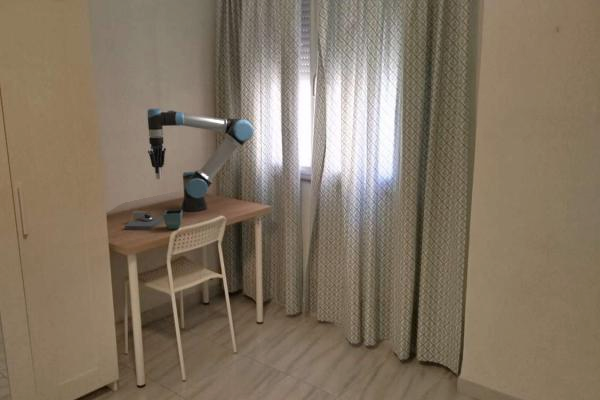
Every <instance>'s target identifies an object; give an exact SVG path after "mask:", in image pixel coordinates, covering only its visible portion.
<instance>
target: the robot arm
mask: <svg viewBox="0 0 600 400" xmlns="http://www.w3.org/2000/svg"><path fill="white" fill-rule="evenodd" d="M163 126H164V127H165V126H166V127H168V126H172V127H174V126H177V127H179V126H181V127H182V126H183V127H190V128H193V129H194V128H196V129H200V130H208V131H215V132H220V133H222V134H224V135H225V138H224V140H223V141H222V142H221V143H220V145H219V146H218V147H217V148H216V150H215V151H214V152H213V154H212V155H211V156H210V157H209V158H208V160H207V161H206V162H205V164H203V166H202V167H201V168H200V169H196V170H195V171H185V172H183V173H182V181H183V183H182V185H183V200H182V202H181V203H182V204H181V210H183V211H184V212H202V211H205V210H207V209H208V204H207V201H206V199H205V195H207V192H208V191H209V188H210V187H211V185H212V184H213V178H214V177H215V176H216V175H217V174H218V172H219V171H220V170H221V168H222V167H223V166H224V164H225V163H227V161H228V160H229V158H231V156H232V155H233V154H234V152H235V151H236V150H237V149H238V148H239V147H243V145H244V144H245V143H246V142H247V141H249V140H250V139H251V138H252V137H253V136H254V127H253V125H252V123H250V121H248V120H246V119H243V118H229V117H225V118H224V119H223V118H217V117H211V116H206V115H201V114H200V115H199V114H193V113H186V112H183V111H175V110H167V111H166V112H165V111H162V109H161V108H148V110H147V128H148V136H149V138H148V141H149V145H150V149H149V150H147V153H148V155H149V159H150V163H151V167H152V168H154V173H155V179H156V180H161V179H162V178H163V177H162V168H163V167H164V166H165V159H166V158H165V154H166V151H167V149H166V147H164V146H163V145H164V131H163V130H164V129H163Z"/></svg>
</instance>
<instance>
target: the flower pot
mask: <svg viewBox="0 0 600 400" xmlns="http://www.w3.org/2000/svg"><path fill="white" fill-rule="evenodd" d="M163 220H164V224H165V225H166V228H167V229H169V230H178V229H177V228H180V227H181V225H182V221H183V210H182V209H173V210H172V209H166V210H165V212H163Z"/></svg>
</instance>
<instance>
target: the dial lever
mask: <svg viewBox="0 0 600 400" xmlns="http://www.w3.org/2000/svg"><path fill="white" fill-rule="evenodd" d="M152 216H153V215H151V213H149V212H148V211H144V210H143V211H140V210H133V211H132V220H133V219H142V221H151V220H153V217H152Z"/></svg>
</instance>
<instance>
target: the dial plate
mask: <svg viewBox="0 0 600 400" xmlns="http://www.w3.org/2000/svg"><path fill="white" fill-rule="evenodd" d="M151 216H152V217H153V220H151V221H142V219H133V218H132V220H131V221H130V222H128V223H126V224H125V225H124V230H127V231H130V230H132V231H133V230H134V231H135V230H136V231H140V230H141V231H152V230H153V229H154V228H156V227H157V226H158V225H159V224H161V223H162V222H163V220H164V215H163V216H157V215H156V216H155V215H151Z"/></svg>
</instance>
